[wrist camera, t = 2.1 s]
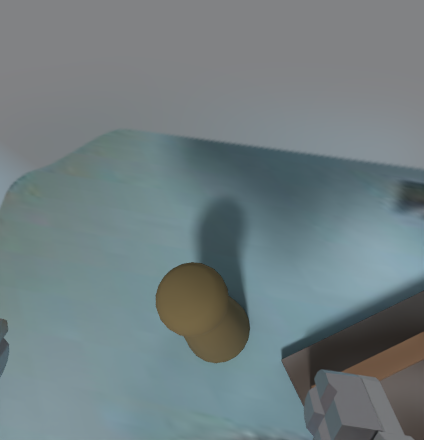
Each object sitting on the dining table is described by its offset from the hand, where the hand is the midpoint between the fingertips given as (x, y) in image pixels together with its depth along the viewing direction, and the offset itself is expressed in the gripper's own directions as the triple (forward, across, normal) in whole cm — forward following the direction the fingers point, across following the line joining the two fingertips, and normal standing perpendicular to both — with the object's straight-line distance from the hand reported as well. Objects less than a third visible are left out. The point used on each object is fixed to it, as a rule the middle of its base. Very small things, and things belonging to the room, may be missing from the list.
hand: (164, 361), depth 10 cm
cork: (+20, -5, +16) cm, 26 cm away
